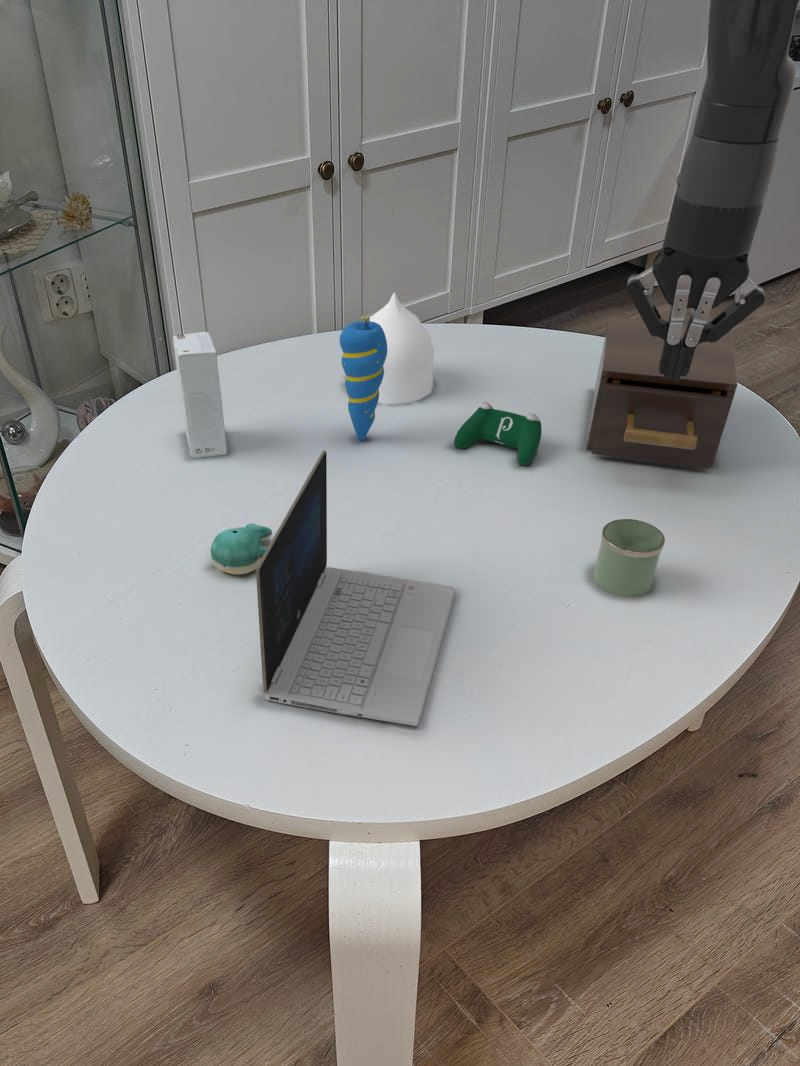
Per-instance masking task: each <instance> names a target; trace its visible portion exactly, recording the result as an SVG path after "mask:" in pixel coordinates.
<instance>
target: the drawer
mask: <svg viewBox="0 0 800 1066" xmlns="http://www.w3.org/2000/svg"><path fill="white" fill-rule="evenodd" d="M720 394H721V390H716V389H707V388H698V387H689V386H679V385H670V384H661V383H652V382H643V381H634V380H624V379H615V378H609V380H608V383H606V385H605V390H604V395H603V399H602V404H601V409H600V414H599V419H598V423H597V428H596V433H595V438H594V443H593V447H592V451H591V454H593V455H600V456H606V457H607V456H608V457H615V458H625V459H631V460H632V459H633V460H638V461H639V460H640V461H647V462H655V463H662V464H663V463H664V464H670V465H678V466H685V467H687V466H688V467H694V468H701V469H702V468H704V469H711V466H710V465H711V462H712V459H713V455H714V452H715V449H716V445H717V442H718V439H719V436H720V432H721V429H722V426H723V423H724V419H725V416H726V413H727V410H728V406H729V403H730V398H729V396H720Z"/></svg>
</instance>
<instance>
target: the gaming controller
mask: <svg viewBox="0 0 800 1066" xmlns="http://www.w3.org/2000/svg"><path fill="white" fill-rule="evenodd" d="M541 438H542V422H541V419H540V418H539V416H537V414H535V413H534V412H529V413H528V414H527V415H526V416H525V415H522V414H518V413H514V412H510V411H507V410H501V409H494V407H493V406H492V405H491V404H490V403H489V402H488V401H483V402H482V403H481V405H480V406H479V407H478V408H477V410H475V411H474V412H473V414H471V416H470V417H468V418H467V420H466V421H465V422H464V423H463V424H461V427H460V428H459V429H458V430H457V432H456V435H455V437H454V440H453V445H454V447H456V448H457V449H461V450H465V449H467V448H469V447H470V446H472V445H473V444H475V443H476V442H477V441H478V440H481V439H482V440H484V441H485V442H487V443H496V444H497V443H498V444H500V445H504V446H507V447H509V448H511V449H517V462H518V464H519V465H521V466H523V467H524V466H525V467H526V466H529V465H530V463H531V462H532V460H533V458H534V456H535V455H536V453H537V450H538V448H539V446H540V442H541V440H542V439H541Z"/></svg>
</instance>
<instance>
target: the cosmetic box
mask: <svg viewBox="0 0 800 1066" xmlns="http://www.w3.org/2000/svg"><path fill="white" fill-rule="evenodd" d="M172 343H173V352H174V359H175V365H176V373H177V379H178V386H179V393H180V400H181V406H182V413H183V420H184V428H185V433H186V439H187V443H188V444H187V445H188V447H189V452H190V456H191V458H193V459H199V458H208V457H209V458H210V457H218V456H227V453H228V445H227V437H226V428H225V419H224V410H223V401H222V392H221V383H220V374H219V366H218V353H217V351H216V347H215V345H214V342H213V339H212V337H211V334H210V332H209V331H200V332H193V333H184V334H177V335H173V336H172Z"/></svg>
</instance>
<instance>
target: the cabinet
mask: <svg viewBox="0 0 800 1066" xmlns="http://www.w3.org/2000/svg"><path fill="white" fill-rule="evenodd" d="M606 325H607V326H606V330H605V335H604V339H603V344H602V345H603V346H602V351H601V355H600V361H599V365H598V369H597V370H598V371H597V374H596V380H595V386H594V390H593V396H592V404H591V412H590V419H589V425H588V432H587V441H586V446H585V447H586V448H585V451H589V452H592V447H593V443H594V438H595V433H596V428H597V423H598V419H599V414H600V409H601V404H602V399H603V395H604V390H605V385H606V383H608V380H609V378H615V379H624V380H634V381H643V382H652V383H661V384H670V385H679V386H689V387H698V388H707V389H716V390H721V394H720V396H729V398H730V403H729V406H728V410H727V413H726V416H725V419H724V423H723V426H722V429H721V432H720V436H719V439H718V442H717V445H716V449H715V452H714V455H713V459H712V462H711V465H710V467H713V466H714V463H715V459H716V456H717V454H718V453H717V452H718V449H719V446H720V444H721V443H720V442H721V439H722V438H723V433H724V430H725V427H726V423H727V420H728V417H729V413H730V411H731V407H732V403H733V401H734V398H735V394H736V391H737V388H738V380H737V373H736V365H735V360H734V359H735V356H734V350H733V343H732V335H731V330H730V331H729V332H728V333H726V334H725V335H724V336H723V337H721V338H720V339H719V340H718V341H716V342H714V343H710V342H708V341H707V342H703V343H700V344H698V345H697V346H696V348H695V351H694V355H693V358H692V362H691V366H690V369H689V372H688V374H687V375H686V376H685V377H684V376H680V380H679V382H676V381H667V380H664V374H660V371H659V362H660V358H661V354H662V350H663V346H664V340H663V339H662V338H660V337H658V336H657V337H654V336H652V335H651V334H650V332H649V331H648V329H647V327H646V325H645V323H644V321H643V320H641V319H640V320H639V319H630V318H620V317H608V320H607V324H606ZM686 327H687V324H684V323H683V327H682V333H681V338H683V337H684V333H685V330H686ZM681 338H680V339H681Z"/></svg>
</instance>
